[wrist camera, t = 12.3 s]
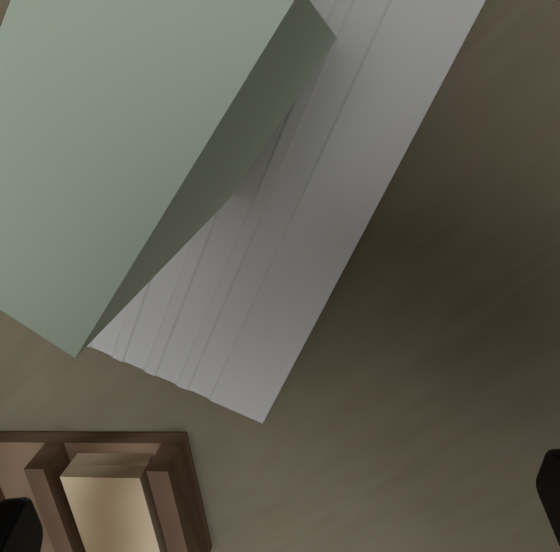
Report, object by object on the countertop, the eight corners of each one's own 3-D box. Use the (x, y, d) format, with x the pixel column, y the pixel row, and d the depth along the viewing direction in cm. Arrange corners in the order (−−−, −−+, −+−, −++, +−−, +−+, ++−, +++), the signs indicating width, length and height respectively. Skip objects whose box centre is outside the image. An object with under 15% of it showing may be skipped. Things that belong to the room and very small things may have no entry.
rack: (186, 432, 24) (167, 471, 22) (212, 546, 27) (197, 592, 25) (-25, 431, 26) (-62, 467, 24) (19, 537, 29) (-11, 579, 27)
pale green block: (337, 38, 16) (301, -12, 6) (229, 199, 18) (75, 357, 8) (260, -23, 16) (80, -186, 6) (160, 150, 18) (-86, 254, 8)
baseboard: (37, 301, 24) (268, 403, 24) (-3, 331, 21) (257, 444, 22) (302, -804, 11) (767, -556, 12) (285, -1070, 9) (888, -737, 9)
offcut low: (153, 453, 24) (146, 465, 23) (177, 550, 26) (172, 564, 26) (77, 452, 25) (69, 464, 24) (108, 547, 27) (101, 560, 26)
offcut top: (146, 465, 23) (139, 478, 23) (172, 564, 26) (167, 578, 25) (69, 464, 24) (59, 476, 23) (101, 560, 26) (93, 574, 26)
